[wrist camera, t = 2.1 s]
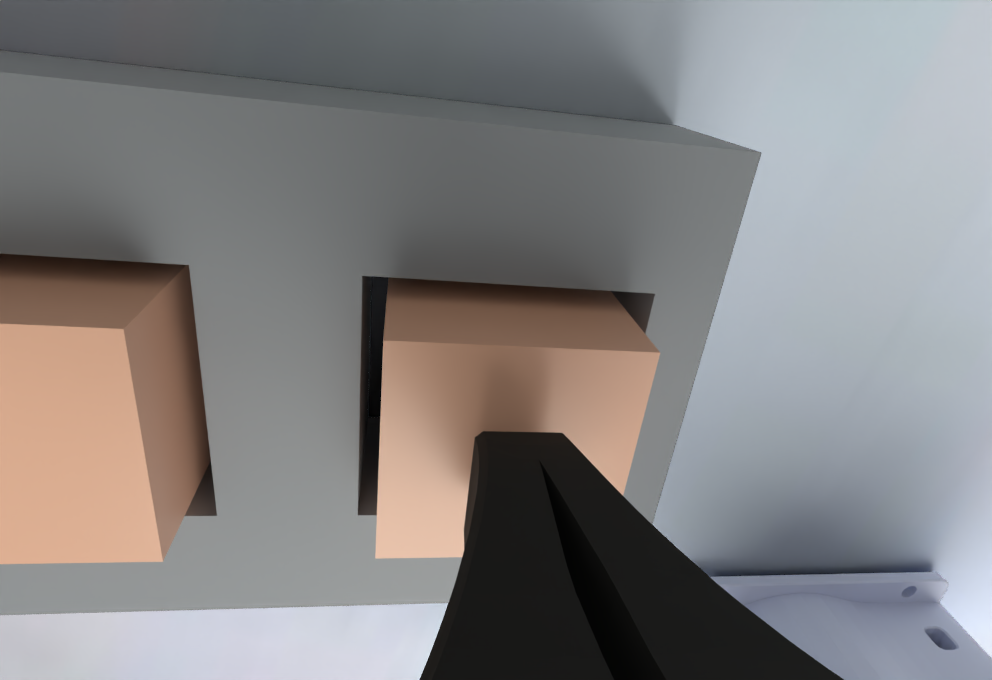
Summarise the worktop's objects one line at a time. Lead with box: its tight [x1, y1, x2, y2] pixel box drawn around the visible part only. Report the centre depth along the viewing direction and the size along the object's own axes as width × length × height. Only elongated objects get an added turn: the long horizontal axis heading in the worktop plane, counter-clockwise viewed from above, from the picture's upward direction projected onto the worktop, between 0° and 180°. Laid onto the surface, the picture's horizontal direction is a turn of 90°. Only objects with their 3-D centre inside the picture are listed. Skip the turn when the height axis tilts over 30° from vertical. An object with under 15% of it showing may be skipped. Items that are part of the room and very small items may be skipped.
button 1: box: [0, 254, 211, 564], centre depth 10 cm, size 4×4×3 cm
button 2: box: [375, 277, 660, 559], centre depth 11 cm, size 4×4×3 cm
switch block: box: [0, 50, 761, 615], centre depth 12 cm, size 15×10×4 cm, turn 83°
